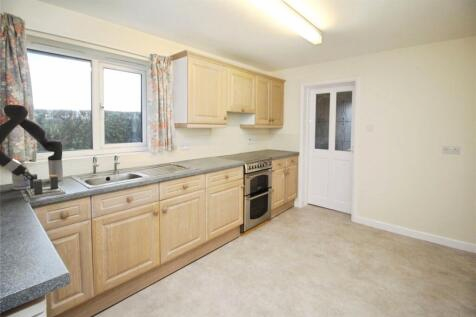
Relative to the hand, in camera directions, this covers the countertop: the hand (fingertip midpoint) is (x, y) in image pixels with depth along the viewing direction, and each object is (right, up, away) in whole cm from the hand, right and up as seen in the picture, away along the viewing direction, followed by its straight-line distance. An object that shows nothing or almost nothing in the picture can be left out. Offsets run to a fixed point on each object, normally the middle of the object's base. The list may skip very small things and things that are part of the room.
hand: (40, 183), depth 172 cm
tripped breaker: (+5, -4, +6) cm, 9 cm away
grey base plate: (+1, -6, +3) cm, 7 cm away
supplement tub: (-22, -5, +11) cm, 25 cm away
